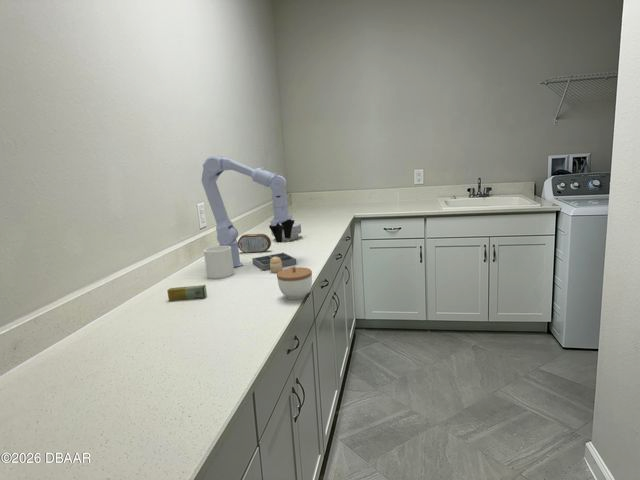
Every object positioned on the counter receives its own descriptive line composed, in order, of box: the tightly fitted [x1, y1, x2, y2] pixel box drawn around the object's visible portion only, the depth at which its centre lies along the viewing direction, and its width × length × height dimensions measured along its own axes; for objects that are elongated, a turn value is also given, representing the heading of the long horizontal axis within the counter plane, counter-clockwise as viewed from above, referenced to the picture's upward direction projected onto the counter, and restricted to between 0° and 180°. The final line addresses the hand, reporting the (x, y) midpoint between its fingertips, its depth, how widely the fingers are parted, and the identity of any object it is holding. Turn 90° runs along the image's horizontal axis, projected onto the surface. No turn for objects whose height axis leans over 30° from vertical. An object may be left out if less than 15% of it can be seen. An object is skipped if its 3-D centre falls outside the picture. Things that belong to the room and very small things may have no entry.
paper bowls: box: [270, 221, 302, 242], centre depth 217 cm, size 15×15×8 cm
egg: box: [270, 256, 283, 274], centre depth 160 cm, size 4×4×6 cm
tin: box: [237, 233, 272, 254], centre depth 194 cm, size 15×3×8 cm, turn 84°
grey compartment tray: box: [251, 252, 298, 272], centre depth 171 cm, size 14×14×2 cm
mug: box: [203, 245, 235, 280], centre depth 162 cm, size 13×10×10 cm
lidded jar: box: [276, 266, 313, 301], centre depth 131 cm, size 11×11×9 cm
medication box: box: [167, 284, 208, 302], centre depth 137 cm, size 12×3×4 cm, turn 90°
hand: (283, 240), depth 171 cm, fingers open, 7 cm apart
